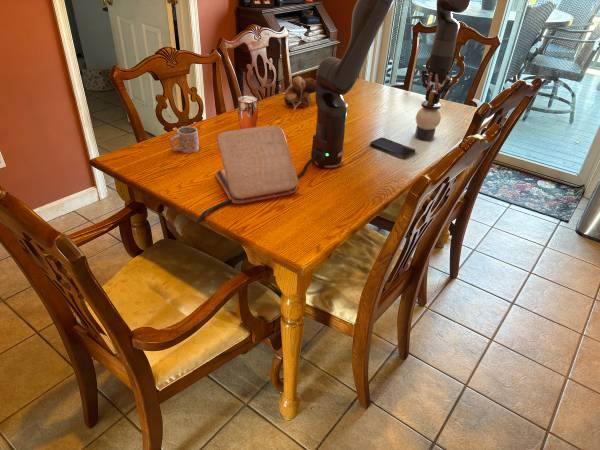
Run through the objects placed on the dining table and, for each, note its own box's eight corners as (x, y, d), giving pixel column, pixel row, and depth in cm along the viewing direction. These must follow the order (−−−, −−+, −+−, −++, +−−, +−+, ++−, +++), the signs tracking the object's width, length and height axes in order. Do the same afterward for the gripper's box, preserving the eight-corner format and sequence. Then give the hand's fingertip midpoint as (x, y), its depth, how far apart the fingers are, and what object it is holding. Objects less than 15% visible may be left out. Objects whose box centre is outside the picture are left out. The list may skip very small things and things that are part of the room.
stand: (424, 142, 167) (426, 132, 165) (410, 135, 172) (412, 125, 170) (437, 138, 171) (439, 128, 168) (423, 132, 175) (426, 122, 173)
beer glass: (262, 140, 162) (262, 99, 153) (247, 145, 157) (246, 103, 149) (249, 134, 165) (248, 94, 157) (234, 139, 161) (233, 98, 153)
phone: (381, 137, 166) (416, 150, 158) (381, 139, 167) (416, 152, 159) (369, 142, 161) (404, 156, 153) (368, 145, 162) (404, 159, 154)
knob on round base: (430, 110, 161) (434, 95, 158) (417, 104, 165) (420, 89, 162) (444, 108, 164) (447, 92, 161) (430, 102, 169) (433, 87, 165)
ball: (425, 136, 165) (431, 112, 160) (408, 127, 171) (413, 104, 166) (442, 132, 169) (448, 108, 164) (425, 123, 175) (430, 101, 170)
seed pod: (329, 91, 190) (308, 72, 196) (303, 90, 179) (281, 69, 185) (316, 117, 198) (295, 98, 204) (290, 118, 187) (269, 97, 193)
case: (232, 208, 123) (230, 154, 114) (213, 173, 139) (209, 124, 130) (300, 195, 131) (303, 144, 122) (274, 164, 146) (275, 117, 137)
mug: (191, 143, 157) (190, 125, 153) (202, 149, 153) (201, 131, 149) (166, 150, 151) (164, 132, 147) (177, 157, 147) (175, 138, 143)
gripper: (419, 49, 157) (410, 97, 167) (450, 58, 147) (438, 109, 157) (434, 47, 161) (425, 95, 170) (465, 56, 151) (453, 106, 161)
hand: (431, 101), depth 164 cm, fingers closed on knob on round base, 3 cm apart
